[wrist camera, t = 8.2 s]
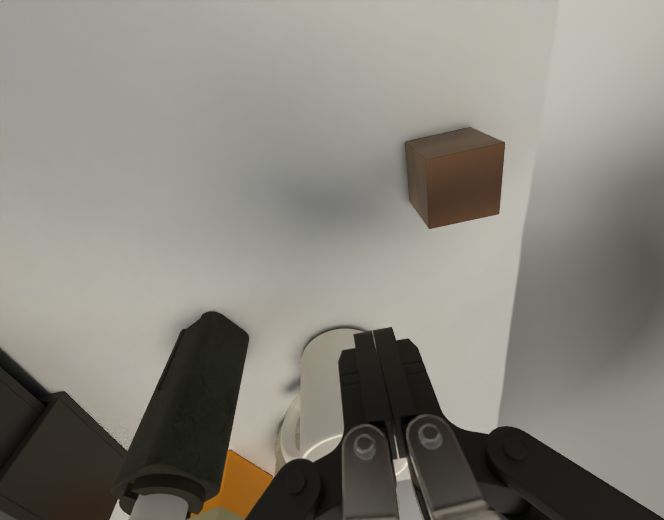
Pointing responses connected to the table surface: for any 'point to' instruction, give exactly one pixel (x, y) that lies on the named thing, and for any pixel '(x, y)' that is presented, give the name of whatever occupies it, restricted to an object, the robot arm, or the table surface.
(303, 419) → the mug
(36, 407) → the basket
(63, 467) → the fryer
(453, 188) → the block
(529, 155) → the table surface
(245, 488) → the orange juice
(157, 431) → the candle
